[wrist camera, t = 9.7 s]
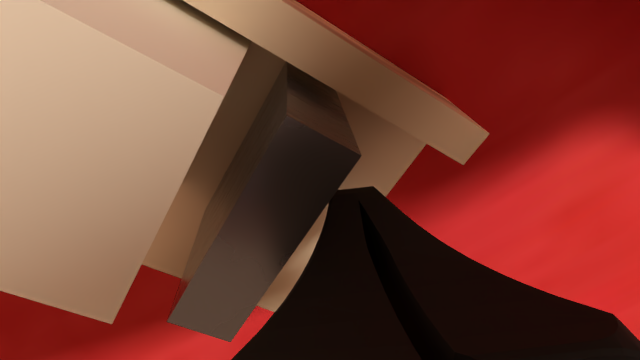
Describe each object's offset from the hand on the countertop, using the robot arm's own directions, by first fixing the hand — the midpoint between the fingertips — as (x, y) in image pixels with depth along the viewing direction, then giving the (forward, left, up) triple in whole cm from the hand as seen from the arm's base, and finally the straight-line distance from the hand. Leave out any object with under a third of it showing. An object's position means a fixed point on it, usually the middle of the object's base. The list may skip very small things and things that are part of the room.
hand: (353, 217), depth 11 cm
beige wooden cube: (+7, 0, -2) cm, 7 cm away
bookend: (+3, 0, -1) cm, 3 cm away
